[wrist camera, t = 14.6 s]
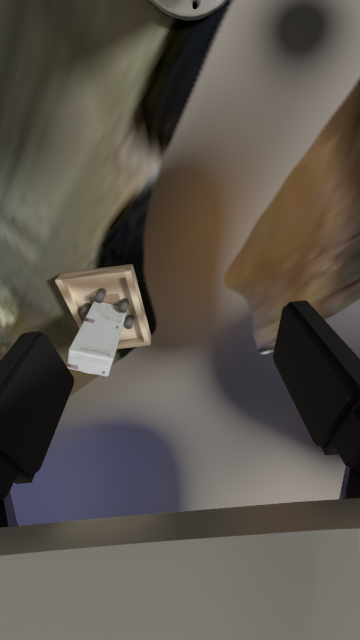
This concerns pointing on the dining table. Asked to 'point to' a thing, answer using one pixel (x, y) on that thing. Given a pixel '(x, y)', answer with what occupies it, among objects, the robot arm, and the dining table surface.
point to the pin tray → (108, 299)
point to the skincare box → (97, 340)
